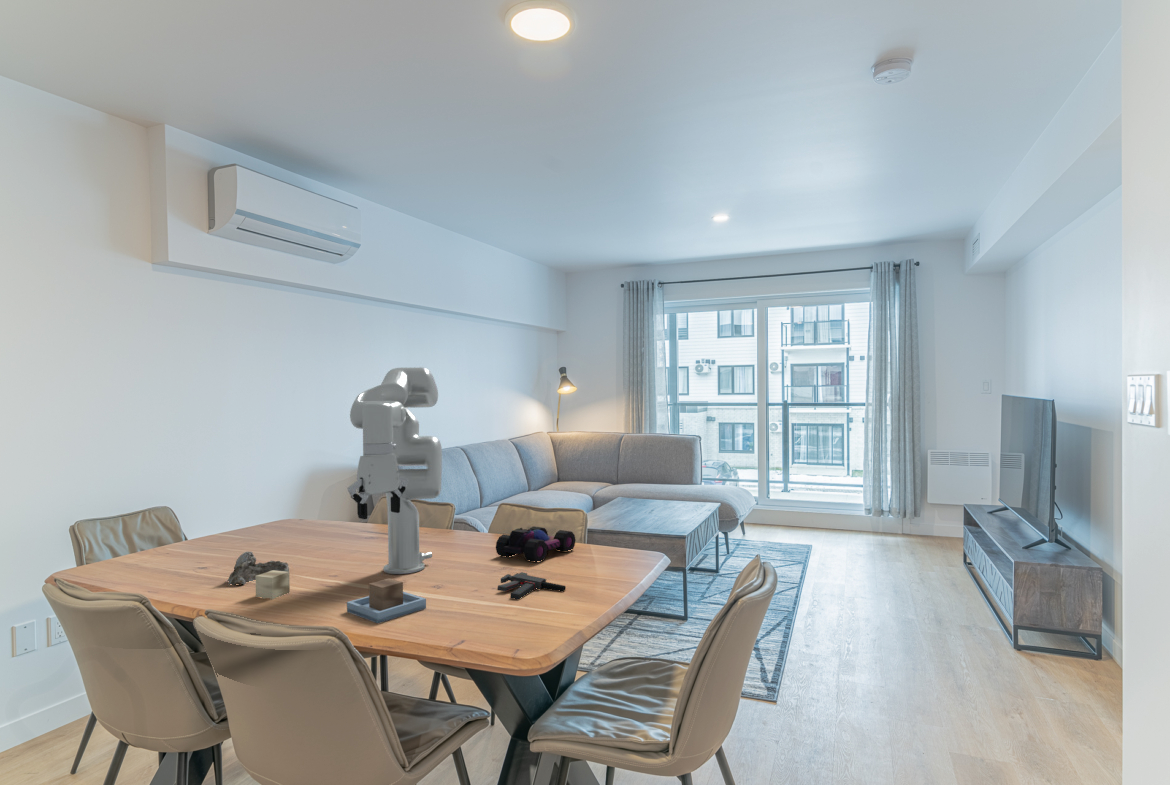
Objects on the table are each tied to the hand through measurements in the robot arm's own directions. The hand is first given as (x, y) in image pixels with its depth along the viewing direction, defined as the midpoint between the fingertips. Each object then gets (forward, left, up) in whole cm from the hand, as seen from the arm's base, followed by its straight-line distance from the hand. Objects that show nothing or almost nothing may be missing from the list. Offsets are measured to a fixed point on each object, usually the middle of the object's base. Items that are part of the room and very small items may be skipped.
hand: (379, 515), depth 168 cm
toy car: (-65, -6, -24) cm, 70 cm away
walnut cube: (+1, +4, -23) cm, 23 cm away
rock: (+7, -55, -24) cm, 61 cm away
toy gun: (-33, +22, -24) cm, 46 cm away
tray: (+1, +4, -24) cm, 24 cm away
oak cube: (+13, -33, -24) cm, 43 cm away
